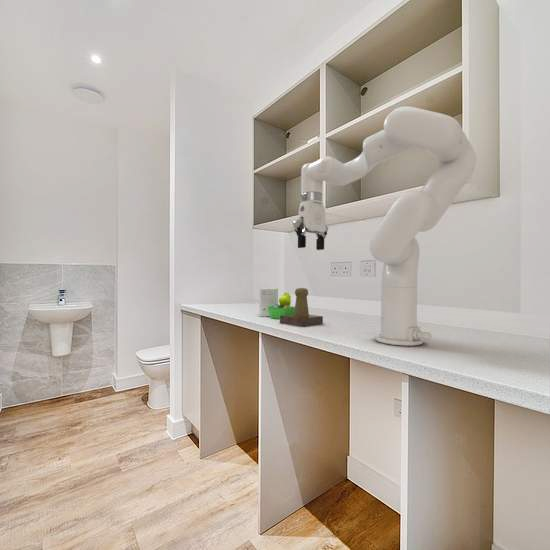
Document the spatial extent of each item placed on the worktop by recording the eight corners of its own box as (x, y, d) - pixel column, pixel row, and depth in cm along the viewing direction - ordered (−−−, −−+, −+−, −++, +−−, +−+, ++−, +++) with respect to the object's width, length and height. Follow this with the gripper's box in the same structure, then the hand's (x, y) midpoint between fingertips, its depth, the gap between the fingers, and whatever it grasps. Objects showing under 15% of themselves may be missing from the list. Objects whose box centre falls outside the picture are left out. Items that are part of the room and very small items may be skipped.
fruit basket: (266, 318, 139) (266, 292, 139) (279, 316, 145) (279, 292, 146) (286, 320, 131) (286, 293, 131) (299, 318, 138) (299, 293, 138)
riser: (322, 323, 123) (322, 316, 123) (301, 326, 115) (301, 318, 115) (300, 320, 132) (300, 313, 132) (279, 323, 124) (279, 315, 124)
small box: (275, 314, 151) (276, 288, 151) (277, 316, 145) (278, 288, 145) (259, 315, 150) (259, 287, 150) (260, 316, 143) (260, 288, 144)
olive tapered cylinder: (303, 317, 119) (304, 288, 119) (290, 315, 123) (291, 288, 123) (311, 315, 124) (312, 288, 124) (299, 314, 127) (299, 287, 127)
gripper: (302, 193, 101) (302, 246, 101) (335, 202, 112) (335, 249, 112) (286, 197, 106) (286, 247, 106) (319, 205, 118) (319, 251, 118)
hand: (311, 248), depth 109 cm, fingers open, 9 cm apart
